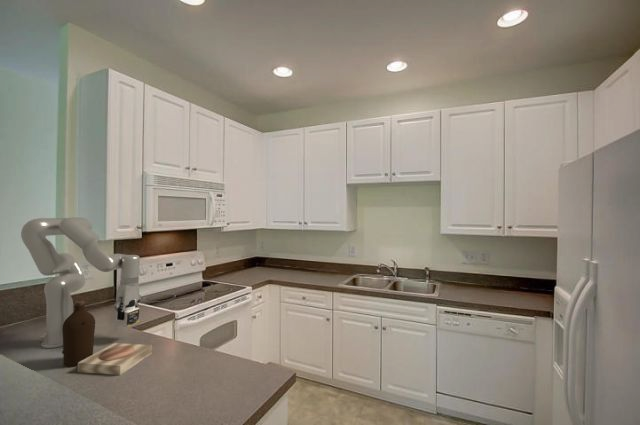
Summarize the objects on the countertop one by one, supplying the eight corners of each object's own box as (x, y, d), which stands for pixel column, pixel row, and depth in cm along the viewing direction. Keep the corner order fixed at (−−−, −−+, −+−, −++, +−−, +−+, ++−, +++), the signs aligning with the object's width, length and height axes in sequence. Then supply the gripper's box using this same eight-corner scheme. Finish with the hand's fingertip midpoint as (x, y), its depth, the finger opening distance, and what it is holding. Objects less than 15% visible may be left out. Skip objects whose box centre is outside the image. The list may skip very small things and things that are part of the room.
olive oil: (101, 356, 127) (102, 298, 127) (78, 368, 116) (80, 305, 116) (78, 354, 128) (79, 297, 128) (54, 367, 117) (55, 304, 117)
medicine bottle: (126, 327, 139) (128, 302, 139) (114, 325, 140) (115, 300, 140) (138, 322, 146) (140, 298, 146) (126, 320, 147) (128, 296, 147)
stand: (77, 371, 114) (77, 361, 114) (114, 350, 132) (114, 341, 132) (120, 375, 112) (120, 364, 112) (152, 353, 130) (152, 344, 130)
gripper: (135, 276, 152) (133, 310, 152) (107, 283, 135) (105, 322, 135) (148, 277, 152) (146, 311, 151) (122, 285, 134) (120, 323, 134)
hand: (127, 316), depth 143 cm, fingers closed on medicine bottle, 7 cm apart
